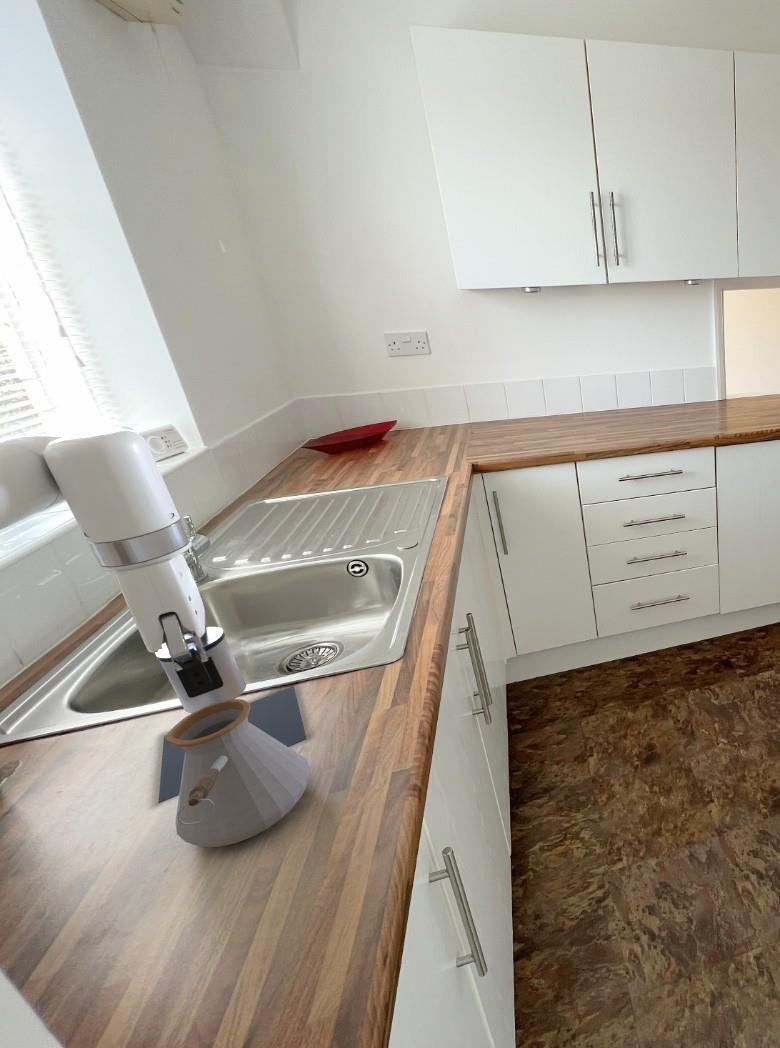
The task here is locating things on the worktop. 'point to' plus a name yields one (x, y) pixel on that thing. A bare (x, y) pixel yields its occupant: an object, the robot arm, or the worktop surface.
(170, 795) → the mat
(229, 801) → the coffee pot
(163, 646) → the canister
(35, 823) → the worktop surface
